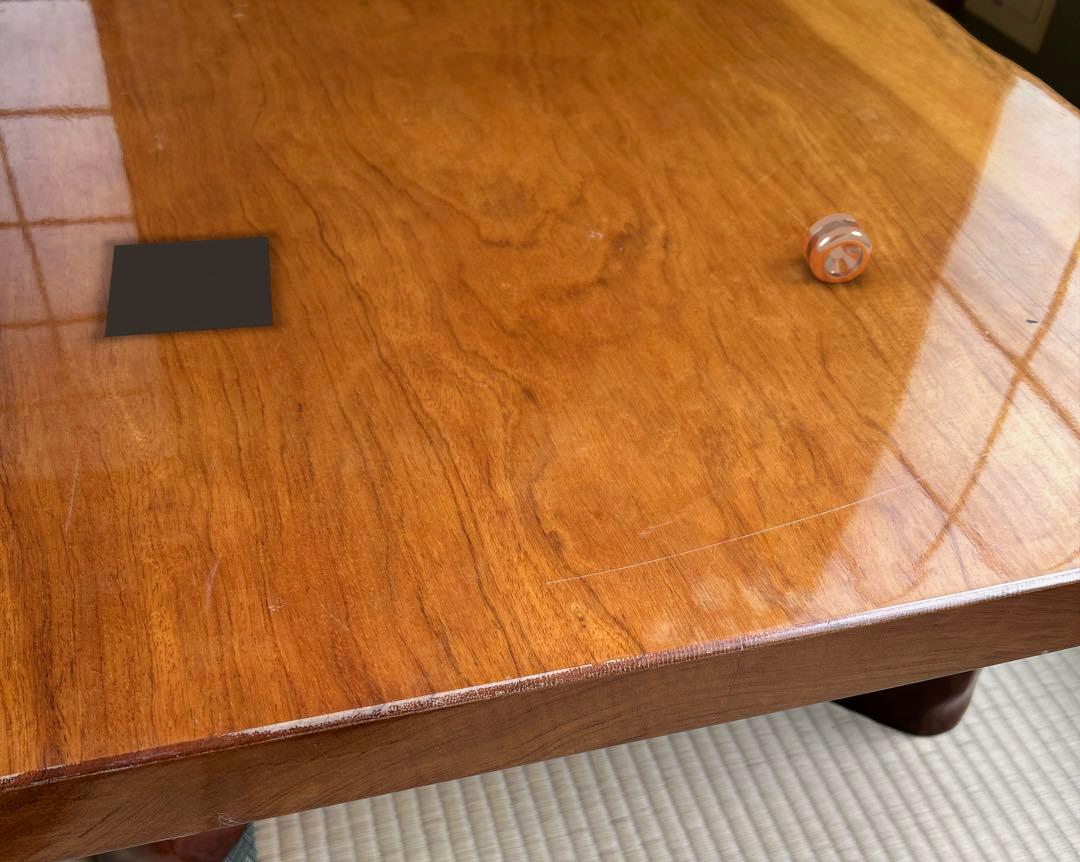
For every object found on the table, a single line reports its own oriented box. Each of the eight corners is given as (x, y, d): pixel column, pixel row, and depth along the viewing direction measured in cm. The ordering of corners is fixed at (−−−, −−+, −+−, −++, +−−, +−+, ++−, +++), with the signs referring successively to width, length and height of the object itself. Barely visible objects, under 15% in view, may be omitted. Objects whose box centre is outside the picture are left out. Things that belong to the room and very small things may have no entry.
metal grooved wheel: (853, 265, 97) (869, 212, 93) (865, 286, 95) (882, 232, 91) (796, 267, 96) (809, 214, 93) (807, 288, 94) (821, 234, 91)
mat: (105, 341, 85) (104, 336, 85) (115, 249, 93) (114, 245, 93) (273, 329, 87) (272, 325, 87) (268, 240, 95) (267, 236, 95)
